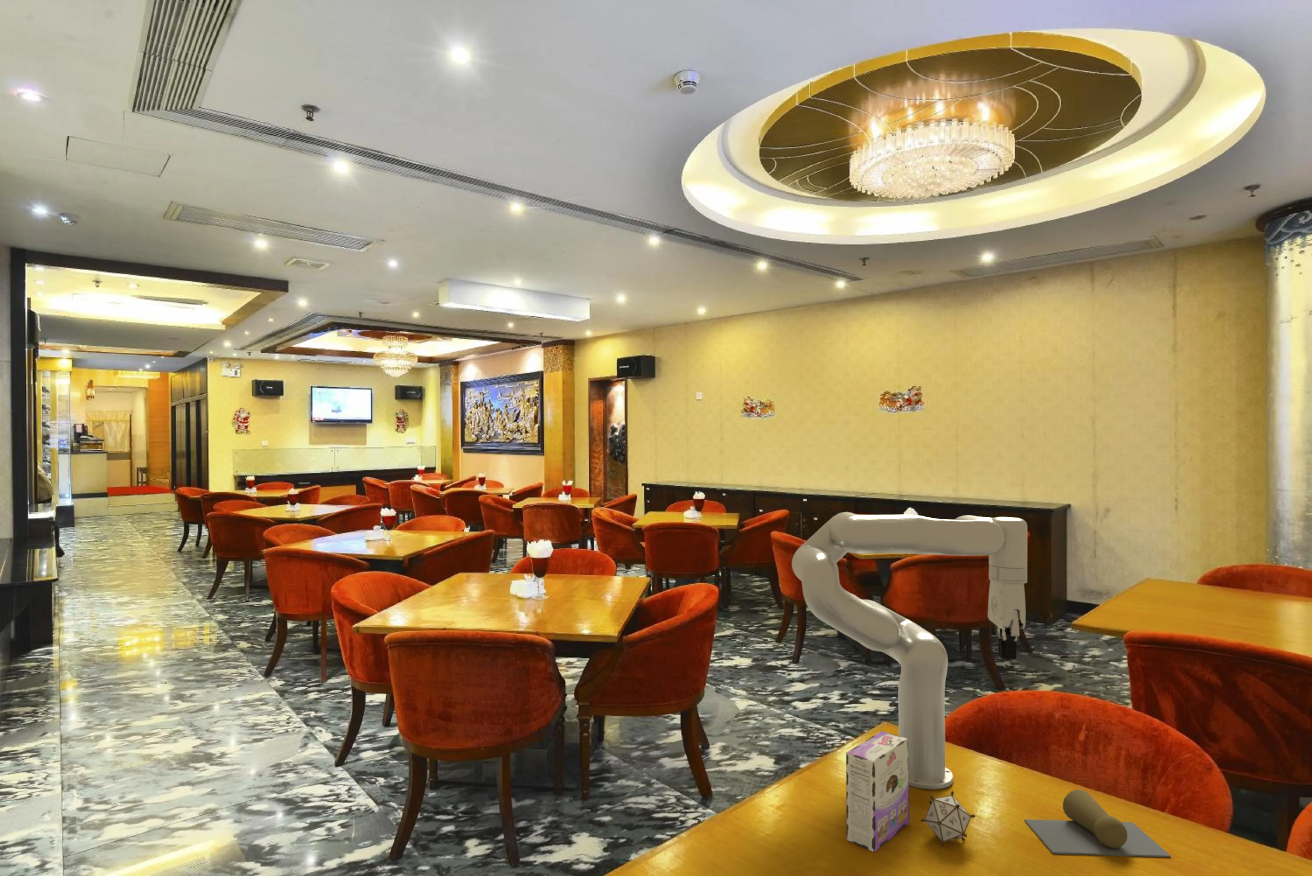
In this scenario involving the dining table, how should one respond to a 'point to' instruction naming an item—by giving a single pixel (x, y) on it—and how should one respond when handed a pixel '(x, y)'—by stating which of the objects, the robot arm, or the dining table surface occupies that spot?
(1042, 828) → the felt mat
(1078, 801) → the cork
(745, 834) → the dining table surface
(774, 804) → the dining table surface
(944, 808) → the game die
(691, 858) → the dining table surface
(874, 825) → the candy box
